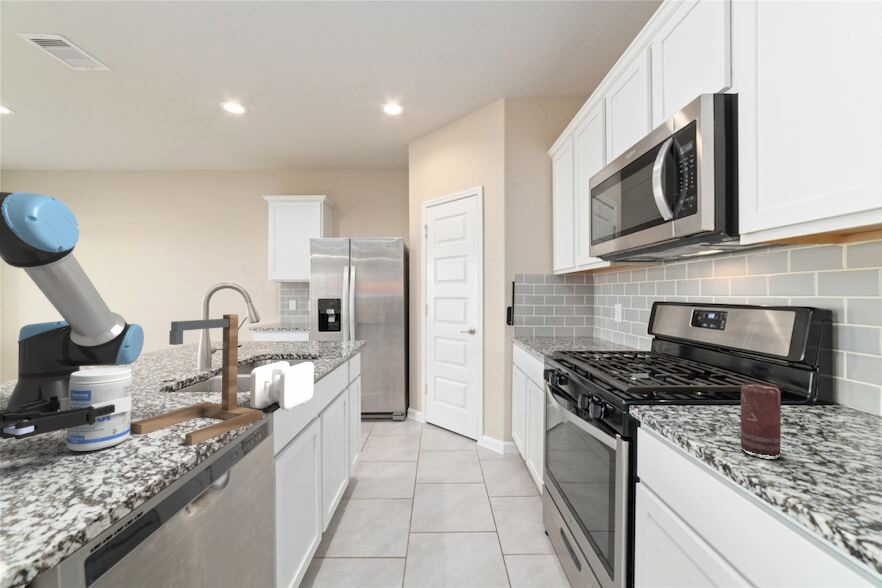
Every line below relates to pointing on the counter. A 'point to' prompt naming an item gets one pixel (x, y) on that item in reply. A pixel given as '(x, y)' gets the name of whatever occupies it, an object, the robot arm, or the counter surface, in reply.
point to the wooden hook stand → (226, 410)
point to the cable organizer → (281, 385)
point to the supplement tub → (98, 389)
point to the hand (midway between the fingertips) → (114, 400)
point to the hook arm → (193, 328)
